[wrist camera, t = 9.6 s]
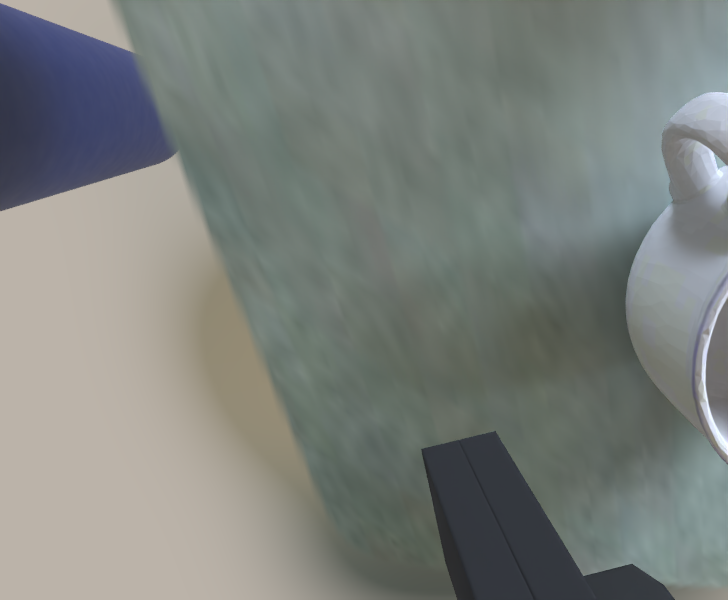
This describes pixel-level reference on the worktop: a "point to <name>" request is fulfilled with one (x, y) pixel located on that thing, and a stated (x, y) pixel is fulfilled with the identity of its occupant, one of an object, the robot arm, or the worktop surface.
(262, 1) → the worktop surface
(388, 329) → the worktop surface
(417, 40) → the worktop surface
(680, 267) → the teacup
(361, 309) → the worktop surface
